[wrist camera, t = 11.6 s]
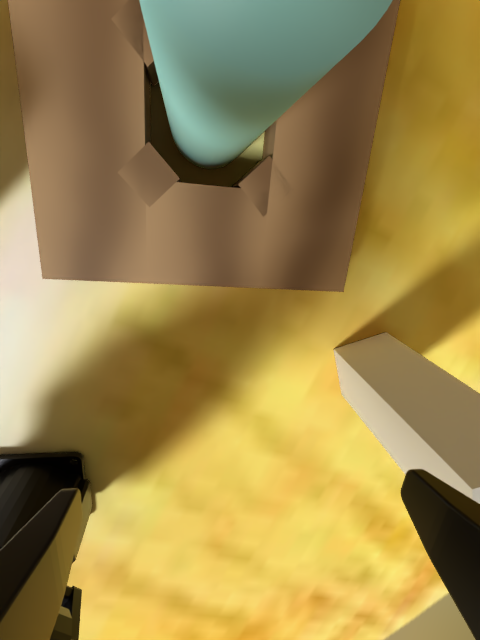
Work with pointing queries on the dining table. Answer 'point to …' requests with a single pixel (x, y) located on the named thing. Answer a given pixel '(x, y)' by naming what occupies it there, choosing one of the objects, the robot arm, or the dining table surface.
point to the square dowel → (414, 409)
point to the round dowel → (244, 63)
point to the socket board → (162, 182)
